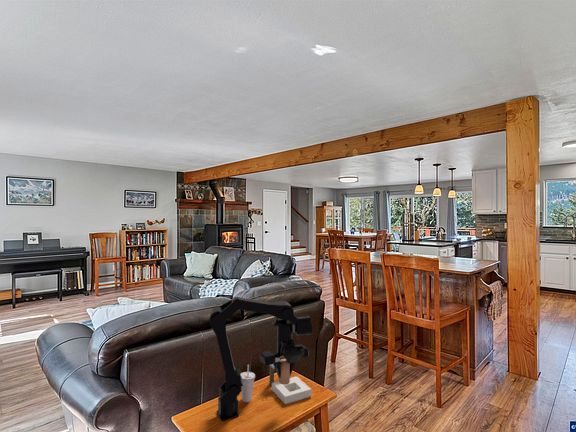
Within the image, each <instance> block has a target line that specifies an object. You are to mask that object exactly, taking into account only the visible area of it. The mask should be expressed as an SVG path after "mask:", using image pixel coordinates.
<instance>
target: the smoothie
mask: <svg viewBox="0 0 576 432" xmlns="http://www.w3.org/2000/svg"><path fill="white" fill-rule="evenodd" d="M240 374H241V377H242V382H243V386H241V388H242V390H241V393H240V394H241V399H242V402H244V403H249V402H251V401H252V399H253V391H254V384H255V379H256V374H255V373H254V372H252V371H250V364H247V371H244V372H240Z"/></svg>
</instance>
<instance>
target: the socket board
mask: <svg viewBox="0 0 576 432" xmlns="http://www.w3.org/2000/svg"><path fill="white" fill-rule="evenodd" d="M271 391H272V392H273V393H274V394H275V395H276V396H277V397H278V398H279V399H280V400H281V402H282V403H283V404H285V405H288V404H292V403H295V402H297V401H301V400H303V399H307V398H310V397H312V388H311V387H310V386H309V385H307V383H305V382H304V381H302V380H301V378H299V377H298V376H292V377H290V382H289V384H286V385H283V384H280V383H279V380H278V381H277V380H276V381H274V382H273V383H272V385H271Z"/></svg>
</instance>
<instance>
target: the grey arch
mask: <svg viewBox="0 0 576 432" xmlns="http://www.w3.org/2000/svg"><path fill="white" fill-rule="evenodd" d="M268 366H269V379H268V380H269V385H270V386H272V383H273V382H275V367H274V365H273V364H271V365H268Z"/></svg>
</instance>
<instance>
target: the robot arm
mask: <svg viewBox="0 0 576 432" xmlns="http://www.w3.org/2000/svg"><path fill="white" fill-rule="evenodd" d="M238 311H245V312H254V313H260V314H261V313H262V314H266V315H270V316H273V317H274V319H273V320H272V322H271V323H272V325H273V326H274V327H277V329H276V331H277V335H276V336H275V340H276V346H277V347H275V351H276V352H275V353H272V352H271V350H267V351H263V352H261V353H259V357H258V358H259V361H260V362H261V364H262V363H263V365H264V366H269V365H271V364H273V365H274V367H275V369H274V371H275V373H276V375H277V378H278V379H279V378H280V377H281V367H280V366H281V364H282V363H281V362H280V360H281V359H282V358H284V359H286V360H287V362H288V363H290V376H291V375H292V372H293V370H294V367H295V364H296V363H298V362H299V361H300V360H301V358H304V357H305V358H306V357H310V356H309V355H310V351H309V348H307V347H306V346H305V345H303V344H301V343H300V344H296V345H295V340H294V338H293V333H294V334H295V335H296V336H307V335H312V334H313V325H312V320H311V317H310V315H305V316H297V315H296V313H294V312H295V311H294V308H293V306H292V305H291V304H290V303H289V302H288V301H286V300H277V301H270V302H269V301H263V300H257V299H256V300H255V299H250V298H246V297H245V298H244V297H239V296H234V297H233V298H232V299H230V300H229V301H227V302H225V303H223V304H221V305H220V306H215V307H214V308H212V309H211V310H210V311H209V324H210V326H211V329H212V331H213V333H214V335H215V336H216V339H217V340H216V341H217V344H218V349H219V353H220V357H221V358H220V359H221V362H222V367H223V370H224V382H223V383H222V384H221V385H220V386H219V396H218V398H217V400H218V401H217V410H216V413H217V416H218V418H219V419H220V421H221V422H224V421H227V420H230V419H234V418H238V417H239V400H238V396H239V395H240V394H242V393H241V390H242V388H241V386H243V382H242V377H241V369H240V367H239V368H237V369H236V367H235V365H234V360H233V355H232V350H231V347H230V342H229V338H228V333H227V320H229V319H230V318H232V316H233V315H234V314H235V313H237V312H238Z"/></svg>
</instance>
